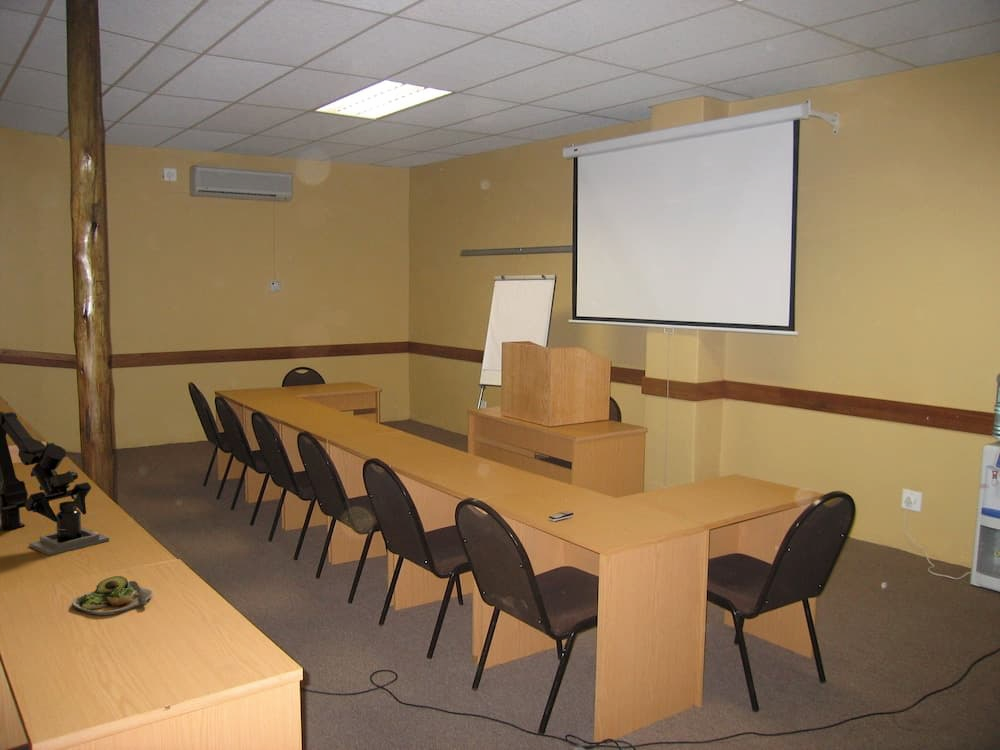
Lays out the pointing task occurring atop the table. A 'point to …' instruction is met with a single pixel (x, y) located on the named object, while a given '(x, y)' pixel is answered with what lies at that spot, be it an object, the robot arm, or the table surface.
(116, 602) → the salad plate
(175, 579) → the table surface
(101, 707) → the table surface
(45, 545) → the grey recessed tray
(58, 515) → the supplement bottle
